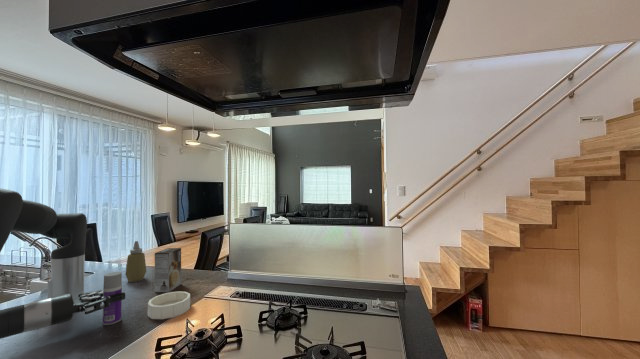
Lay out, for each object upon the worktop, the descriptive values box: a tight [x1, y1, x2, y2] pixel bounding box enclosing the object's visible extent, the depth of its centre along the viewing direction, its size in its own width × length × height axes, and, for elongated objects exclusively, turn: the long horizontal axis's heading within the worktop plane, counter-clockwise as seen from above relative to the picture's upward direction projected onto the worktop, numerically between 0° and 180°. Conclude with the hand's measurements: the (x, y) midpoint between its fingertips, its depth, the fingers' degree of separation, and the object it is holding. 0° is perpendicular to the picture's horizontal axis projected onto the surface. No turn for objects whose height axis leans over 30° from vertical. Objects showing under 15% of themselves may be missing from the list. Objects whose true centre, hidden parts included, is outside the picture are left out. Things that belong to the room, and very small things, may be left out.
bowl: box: [147, 290, 191, 320], centre depth 92 cm, size 13×13×4 cm
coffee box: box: [154, 247, 182, 293], centre depth 113 cm, size 9×6×16 cm
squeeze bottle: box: [124, 240, 147, 283], centre depth 123 cm, size 8×8×18 cm
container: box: [102, 271, 123, 326], centre depth 85 cm, size 5×5×15 cm
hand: (122, 293), depth 87 cm, fingers closed on container, 4 cm apart
